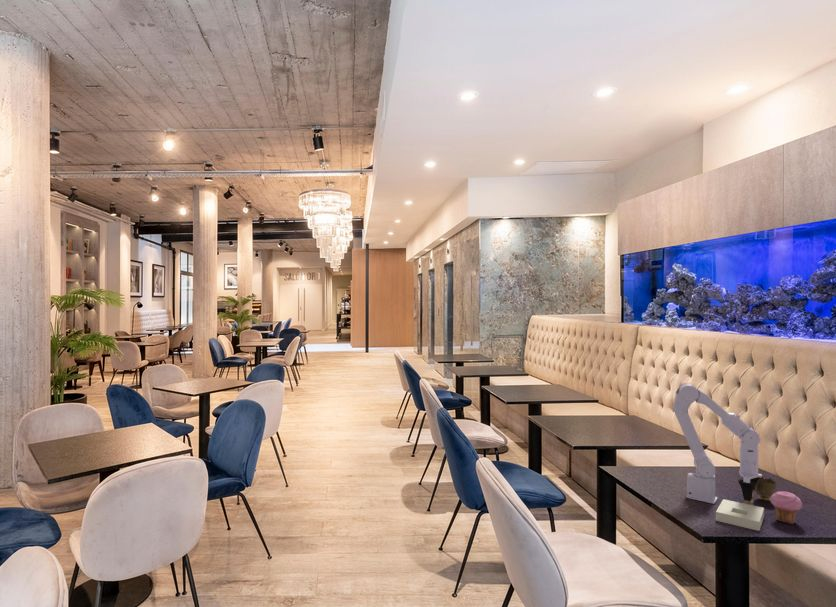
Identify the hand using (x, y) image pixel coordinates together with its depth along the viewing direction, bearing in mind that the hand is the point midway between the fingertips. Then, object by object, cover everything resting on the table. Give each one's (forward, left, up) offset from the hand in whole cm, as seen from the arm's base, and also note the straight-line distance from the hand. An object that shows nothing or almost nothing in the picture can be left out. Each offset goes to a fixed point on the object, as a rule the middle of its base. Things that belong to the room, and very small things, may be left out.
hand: (748, 497), depth 189 cm
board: (-1, -17, -3) cm, 17 cm away
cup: (+4, +11, -3) cm, 12 cm away
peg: (0, 0, -3) cm, 3 cm away
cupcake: (+12, -9, -3) cm, 15 cm away
